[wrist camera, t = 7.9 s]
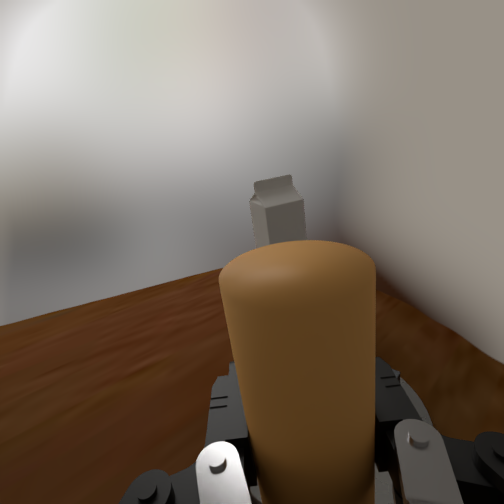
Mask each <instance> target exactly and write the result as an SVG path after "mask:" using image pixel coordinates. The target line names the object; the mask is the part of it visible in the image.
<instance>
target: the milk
mask: <svg viewBox="0 0 504 504" xmlns="http://www.w3.org/2000/svg"><path fill="white" fill-rule="evenodd" d="M254 190H255V193H254V195H253V196H252V198H251V199H250V201H249V202H250V209H251V216H252V223H253V230H254V236H255V243H256V248H260V247H263V246H267V245H271V244H276V243H281V242H289V241H300V240H307V237H306V225H305V213H304V201H303V198H302V196H301V195H300V194H299V193H298V191H297V190H296V189H295V187H294V186H293V184H292V176H291V175H285V176H280V177H275V178H270V179H265V180H261V181H256V182H254Z"/></svg>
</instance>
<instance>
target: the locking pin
mask: <svg viewBox="0 0 504 504" xmlns="http://www.w3.org/2000/svg"><path fill="white" fill-rule="evenodd" d="M219 285H220V290H221V295H222V300H223V306H224V311H225V316H226V321H227V326H228V331H229V336H230V341H231V347H232V352H233V357H234V362H235V367H236V372H237V377H238V382H239V387H240V393H241V398H242V403H243V408H244V413H245V418H246V423H247V427H248V432H249V437H250V442H251V447H252V452H253V458H254V463H255V468H256V473H257V480H258V485H259V490H260V495H261V500H262V504H375V320H376V268H375V264H374V261H373V260H372V259H371V257H369V256H368V255H367V254H366V253H364V252H363V251H361V250H359V249H357V248H355V247H352V246H349V245H345V244H341V243H336V242H330V241H317V240H316V241H315V240H300V241H289V242H281V243H276V244H271V245H267V246H263V247H260V248H256V249H253V250H251V251H248V252H246V253H244V254H242V255H240V256H238V257H236V258H235V259H233V260H232V261H230V263H228V264H227V265H226V266H225V267H224V268H223V270H222V271H221V273H220V276H219Z"/></svg>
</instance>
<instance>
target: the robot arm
mask: <svg viewBox="0 0 504 504" xmlns="http://www.w3.org/2000/svg"><path fill="white" fill-rule="evenodd" d="M375 464H376V467H377V469H378V472H387V471H388V472H389V475H390V477H391V480H392V493H393V500H394V504H504V434H502V433H498V432H483V433H481V434H479V435H478V436H477V437H476V438H475V442H471V441H465V440H459V439H454V438H449V437H446V436H443V435H441V434H440V433H439V432H438V431H437V430H436V429H435V428H434V427H432V426H431V425H429V424H428V423H426V422H424V421H423V420H422V419H421V417H420V415H419V414H418V412H417V410H416V409H415V407H414V405H413V404H412V402H411V400H410V399H409V397H408V395H407V394H406V392H405V390H404V389H403V387H402V386H401V384H400V382H399V380H398V379H397V378H396V375H395V374H394V372H393V370H392V369H391V367H390V365H388V364H387V363H386V362H385V361H383V360H382V359H381V358H380V357H375ZM251 486H257V473H256V468H255V463H254V458H253V452H252V447H251V442H250V437H249V432H248V427H247V423H246V418H245V413H244V408H243V403H242V398H241V393H240V387H239V382H238V377H237V372H236V367H235V362H234V361H233V362H230V366H229V375H227V376H219V377H218V378H217V380H216V382H215V383H214V385H213V386H212V393H211V401H210V410H209V418H208V426H207V434H206V442H205V447H204V449H203V450H202V452H201V453H200V454H199V456H198V458H197V461H196V462H195V463H194V464H193V465H191V466H190V467H188V468H186V469H184V470H182V471H180V472H178V473H176V474H173V475H171V476H168V474H167V473H166V472H164V471H162V470H157V469H156V470H149V471H147V472H145V473H143V474H141V475H140V476H138V477H137V478H136V479H135V480H134V481H133V482H132V483H131V485H130V486H129V488H128V489H127V491H126V493H125V494H124V496H123V497H122V499H121V501H120V502H119V504H252V502H251V499H250V487H251Z"/></svg>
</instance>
